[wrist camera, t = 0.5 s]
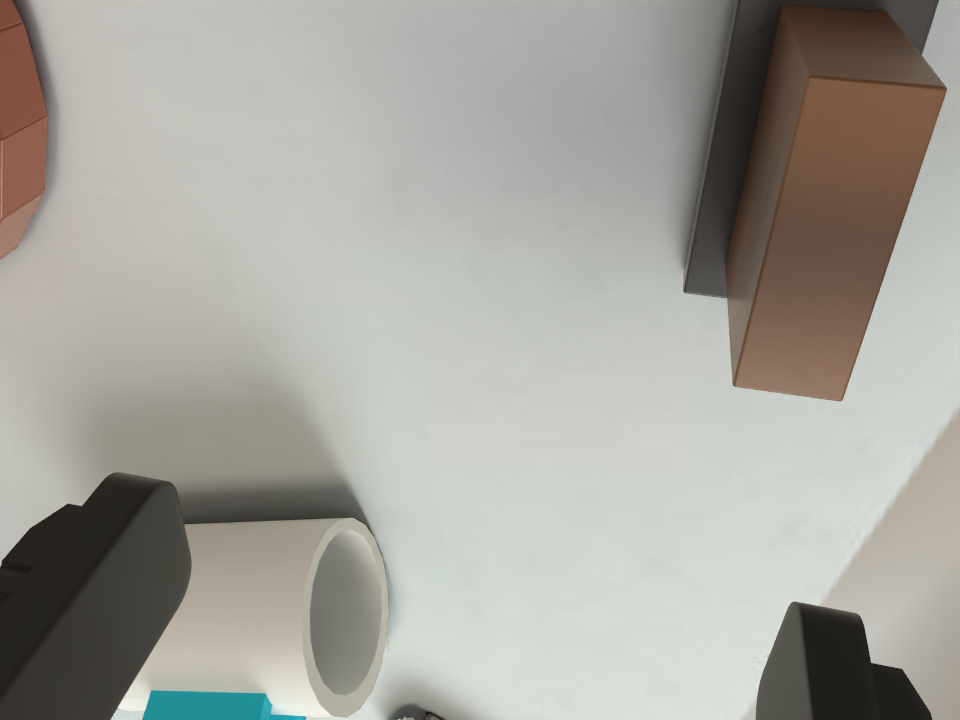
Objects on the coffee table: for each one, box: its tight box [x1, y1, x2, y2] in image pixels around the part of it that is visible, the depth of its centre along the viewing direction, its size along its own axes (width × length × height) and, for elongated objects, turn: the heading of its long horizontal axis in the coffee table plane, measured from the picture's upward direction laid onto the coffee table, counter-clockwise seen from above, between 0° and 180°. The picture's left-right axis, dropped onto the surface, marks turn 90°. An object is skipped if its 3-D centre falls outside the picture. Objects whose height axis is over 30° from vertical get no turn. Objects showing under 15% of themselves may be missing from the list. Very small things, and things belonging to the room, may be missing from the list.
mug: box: [118, 518, 389, 720], centre depth 36 cm, size 12×9×12 cm
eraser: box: [683, 0, 947, 401], centre depth 20 cm, size 9×4×7 cm, turn 178°
